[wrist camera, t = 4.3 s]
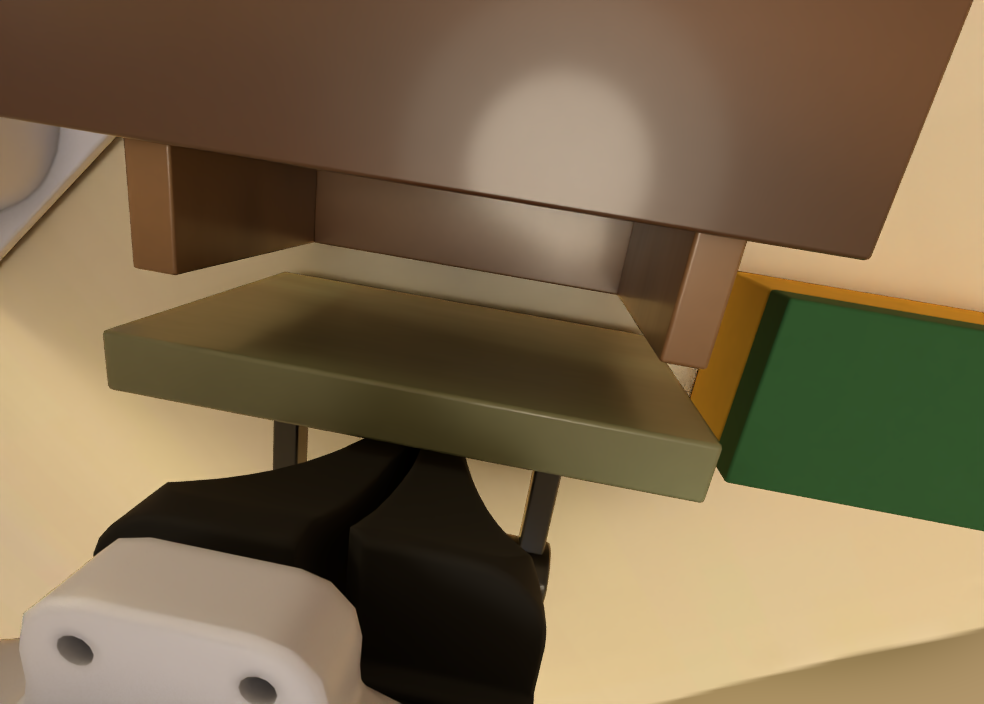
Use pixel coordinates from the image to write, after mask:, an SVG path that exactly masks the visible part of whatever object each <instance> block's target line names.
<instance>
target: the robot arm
mask: <svg viewBox="0 0 984 704" xmlns="http://www.w3.org/2000/svg"><path fill="white" fill-rule="evenodd" d="M115 137H116V136H111V135H105V134H99V133H93V132H87V131H81V130H75V129H69V128H63V127H57V126H51V125H45V124H39V123H33V122H27V121H21V120H15V119H9V118H3V117H0V261H1V259H2V258H3V257H4V256H5V255H6V254H7V253H8V252H9V251H10V250H11V249H12V248H13V247H14V246H15V244H16V243H17V242H18V241H19V240H20V239H21V238H22V237H23V236H24V235H25V234H26V233H27V232H28V231H29V229H30V228H31V227H32V226H33V225H34V224H35V223H36V222H37V221H38V220H39V219H40V218H41V217H42V216H43V215H44V213H45V212H46V211H47V210H48V209H49V208H50V207H51V206H52V205H53V204H54V203H55V202H56V201H57V200H58V198H59V197H60V196H61V195H62V194H63V193H64V192H65V191H66V190H67V189H68V188H69V187H70V186H71V185H72V183H73V182H74V181H75V180H76V179H77V178H78V177H79V176H80V175H81V174H82V173H83V172H84V171H85V170H86V168H87V167H88V166H89V165H90V164H91V163H92V162H93V161H94V160H95V159H96V158H97V157H98V156H99V155H100V153H101V152H102V151H103V150H104V149H105V148H106V147H107V146H108V145H109V144H110V143H111V142H112V141H113V140H114V138H115ZM545 641H546V620H545V611H544V604H543V599H542V593H541V589H540V585H539V580H538V577H537V573H536V569H535V566H534V562H533V559H532V557H531V556H530V554H528V553H527V552H526V551H525V550H524V549H523V548H521V547H520V546H519V545H518V544H517V543H516V542H515V541H513V540H512V539H511V538H510V537H509V536H508V535H507V534H506V533H505V532H504V531H503V530H502V529H501V528H500V526H499V525H498V524H497V523H496V521H495V520H494V518H493V517H492V516H491V514H490V513H489V511H488V510H487V508H486V507H485V505H484V503H483V501H482V500H481V498H480V496H479V494H478V492H477V489H476V487H475V485H474V482H473V480H472V477H471V474H470V471H469V468H468V465H467V461H466V457H460V456H455V455H450V454H445V453H440V452H434V451H429V450H424V449H419V448H414V447H409V446H403V445H398V444H393V443H388V442H383V441H377V440H372V439H367V438H364V439H362V440H360V441H358V442H356V443H353V444H351V445H349V446H347V447H345V448H343V449H340V450H338V451H335V452H333V453H330V454H327V455H325V456H322V457H319V458H316V459H313V460H310V461H306V462H303V463H299V464H295V465H291V466H287V467H283V468H279V469H275V470H271V471H266V472H261V473H255V474H250V475H243V476H236V477H229V478H221V479H210V480H196V481H183V482H167V483H166V484H165V485H163V486H162V487H160V488H159V489H158V490H156V491H155V492H154V493H153V494H151V495H150V496H149V497H147V498H146V499H145V500H143V501H142V502H141V503H139V504H138V505H137V506H135V507H134V508H133V509H132V510H130V511H129V512H128V513H126V514H125V515H124V516H122V517H121V518H120V519H118V520H117V521H116V522H114V523H113V524H112V525H111V526H110V527H109V528H108V529H107V530H106V531H105V532H104V533H103V534H102V535H101V537H100V538H99V540H98V543H97V545H96V548H95V551H94V555H93V558H92V559H90V560H89V561H88V562H87V563H85V564H84V565H83V566H82V567H80V568H79V569H78V570H77V571H75V572H74V573H73V574H72V575H70V576H69V577H68V578H67V579H66V580H64V581H63V582H62V583H61V584H59V585H58V586H57V587H56V588H54V589H53V590H52V591H51V592H49V593H48V594H47V595H46V596H44V597H43V598H42V599H41V600H39V601H38V602H37V603H36V604H34V605H33V606H32V607H31V608H29V609H28V610H27V611H26V612H24V613H23V618H22V626H21V634H20V638H15V639H3V640H0V704H533V701H534V690H535V686H536V682H537V678H538V674H539V669H540V665H541V661H542V657H543V653H544V648H545Z"/></svg>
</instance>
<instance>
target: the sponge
mask: <svg viewBox="0 0 984 704" xmlns="http://www.w3.org/2000/svg"><path fill="white" fill-rule="evenodd" d="M690 399H691V400H692V402H693V403H694V405H695V406H696V408H697V409H698V411H699V412H700V414H701V415H702V417H703V418H704V420H705V421H706V423H707V424H708V426H709V427H710V429H711V430H712V432H713V433H714V435H715V436H716V438H717V439H718V441H719V442H720V444H721V446H722V450H721V453H720V456H719V459H718V462H717V465H716V467H717V468H718V470H719V472H720V473H721V475H722V477H723V478H724V480H725V481H726V482H728V483H733V484H738V485H744V486H749V487H754V488H760V489H765V490H770V491H775V492H781V493H786V494H791V495H796V496H802V497H807V498H812V499H817V500H823V501H828V502H833V503H838V504H844V505H849V506H854V507H859V508H865V509H870V510H875V511H880V512H886V513H891V514H896V515H902V516H907V517H912V518H917V519H923V520H928V521H933V522H938V523H944V524H949V525H954V526H959V527H965V528H970V529H975V530H980V531H984V313H983V312H977V311H971V310H965V309H959V308H953V307H947V306H941V305H935V304H929V303H923V302H918V301H912V300H906V299H900V298H894V297H888V296H882V295H876V294H870V293H864V292H858V291H852V290H846V289H840V288H835V287H829V286H823V285H817V284H811V283H805V282H799V281H793V280H787V279H781V278H775V277H769V276H763V275H758V274H752V273H746V272H740V271H738V272H737V275H736V278H735V281H734V284H733V287H732V291H731V294H730V297H729V300H728V303H727V306H726V310H725V313H724V316H723V319H722V322H721V326H720V329H719V332H718V335H717V338H716V341H715V345H714V348H713V351H712V354H711V357H710V360H709V364H708V367H707V368H706V369H699V372H698V375H697V378H696V381H695V384H694V388H693V391H692V394H691V397H690Z"/></svg>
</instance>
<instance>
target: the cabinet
mask: <svg viewBox="0 0 984 704" xmlns="http://www.w3.org/2000/svg"><path fill="white" fill-rule="evenodd" d="M972 2H973V0H0V117H3V118H9V119H15V120H21V121H27V122H33V123H39V124H45V125H51V126H57V127H63V128H69V129H75V130H81V131H87V132H93V133H99V134H105V135H111V136H117V137H123V138H129V139H135V140H142V141H148V142H154V143H160V144H166V145H172V146H178V147H184V148H190V149H196V150H202V151H208V152H214V153H220V154H226V155H232V156H238V157H244V158H250V159H256V160H262V161H268V162H274V163H280V164H286V165H292V166H299V167H305V168H311V169H317V170H323V171H329V172H335V173H341V174H347V175H353V176H359V177H365V178H371V179H377V180H383V181H389V182H395V183H401V184H407V185H413V186H419V187H425V188H431V189H437V190H443V191H449V192H455V193H462V194H468V195H474V196H480V197H486V198H492V199H498V200H504V201H510V202H516V203H522V204H528V205H534V206H540V207H546V208H552V209H558V210H564V211H570V212H576V213H582V214H588V215H594V216H600V217H606V218H612V219H619V220H625V221H631V222H637V223H643V224H649V225H655V226H661V227H667V228H673V229H679V230H685V231H691V232H697V233H703V234H709V235H715V236H721V237H727V238H733V239H739V240H745V241H751V242H757V243H763V244H769V245H776V246H782V247H788V248H794V249H800V250H806V251H812V252H818V253H824V254H830V255H836V256H842V257H848V258H854V259H860V260H866V259H869V258H870V257H871V255H872V253H873V250H874V248H875V245H876V243H877V240H878V238H879V235H880V233H881V230H882V228H883V225H884V223H885V220H886V218H887V215H888V213H889V210H890V208H891V205H892V203H893V200H894V198H895V195H896V193H897V190H898V188H899V185H900V183H901V180H902V178H903V175H904V173H905V170H906V168H907V165H908V163H909V160H910V158H911V155H912V153H913V150H914V148H915V145H916V143H917V140H918V138H919V135H920V133H921V130H922V128H923V125H924V123H925V120H926V118H927V115H928V113H929V110H930V108H931V105H932V103H933V100H934V98H935V95H936V92H937V90H938V87H939V85H940V82H941V80H942V77H943V75H944V72H945V70H946V67H947V65H948V62H949V60H950V57H951V55H952V52H953V50H954V47H955V45H956V42H957V40H958V37H959V35H960V32H961V30H962V27H963V25H964V22H965V20H966V17H967V15H968V12H969V10H970V7H971V5H972Z"/></svg>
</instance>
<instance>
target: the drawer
mask: <svg viewBox="0 0 984 704" xmlns="http://www.w3.org/2000/svg"><path fill="white" fill-rule="evenodd" d="M124 148H125V161H126V173H127V186H128V199H129V211H130V224H131V237H132V249H133V262H134V267H135V268H138V269H144V270H149V271H155V272H161V273H166V274H172V275H178V274H182V273H186V272H190V271H195V270H199V269H203V268H207V267H211V266H216V265H220V264H224V263H228V262H232V261H237V260H241V259H245V258H249V257H253V256H258V255H262V254H266V253H270V252H274V251H279V250H283V249H287V248H291V247H295V246H300V245H304V244H308V243H312V242H315V243H321V244H327V245H333V246H338V247H344V248H350V249H356V250H362V251H367V252H373V253H379V254H385V255H390V256H396V257H402V258H408V259H414V260H419V261H425V262H431V263H437V264H442V265H448V266H454V267H460V268H465V269H471V270H477V271H483V272H489V273H494V274H500V275H506V276H512V277H517V278H523V279H529V280H535V281H540V282H546V283H552V284H558V285H564V286H569V287H575V288H581V289H587V290H592V291H598V292H604V293H610V294H616V295H618V296H619V298H620V299H621V301H622V302H623V304H624V305H625V307H626V309H627V310H628V312H629V313H630V315H631V316H632V318H633V319H634V321H635V323H636V324H637V326H638V327H639V329H640V330H641V332H642V334H643V335H640V334H634V333H628V332H623V331H617V330H611V329H606V328H600V327H594V326H589V325H583V324H577V323H572V322H566V321H560V320H555V319H549V318H543V317H538V316H532V315H526V314H521V313H515V312H510V311H504V310H498V309H493V308H487V307H481V306H476V305H470V304H464V303H459V302H453V301H447V300H442V299H436V298H430V297H425V296H419V295H413V294H408V293H402V292H396V291H391V290H385V289H379V288H374V287H368V286H363V285H357V284H351V283H346V282H340V281H334V280H329V279H323V278H317V277H312V276H306V275H300V274H295V273H289V272H283V273H280V274H277V275H274V276H271V277H268V278H265V279H262V280H258V281H255V282H252V283H249V284H246V285H243V286H240V287H237V288H234V289H231V290H228V291H225V292H221V293H218V294H215V295H212V296H209V297H206V298H203V299H200V300H197V301H194V302H191V303H188V304H185V305H181V306H178V307H175V308H172V309H169V310H166V311H163V312H160V313H157V314H154V315H151V316H148V317H145V318H141V319H138V320H135V321H132V322H129V323H126V324H123V325H120V326H117V327H114V328H111V329H108V330H105V331H104V333H103V340H104V350H105V359H106V369H107V379H108V386H109V388H111V389H113V390H118V391H123V392H128V393H133V394H139V395H144V396H149V397H154V398H159V399H165V400H170V401H175V402H180V403H185V404H191V405H196V406H201V407H206V408H211V409H217V410H222V411H227V412H232V413H237V414H242V415H248V416H253V417H258V418H263V419H268V420H274V444H273V470H275V469H279V468H283V467H287V466H291V465H295V464H299V463H303V462H306V461H307V442H308V427H310V428H315V429H320V430H325V431H331V432H336V433H341V434H346V435H351V436H357V437H362V438H367V439H372V440H377V441H383V442H388V443H393V444H398V445H403V446H409V447H414V448H419V449H424V450H429V451H434V452H440V453H445V454H450V455H455V456H460V457H466V458H471V459H476V460H481V461H486V462H492V463H497V464H502V465H507V466H512V467H518V468H523V469H528V470H533V472H532V476H531V481H530V486H529V491H528V496H527V500H526V505H525V510H524V515H523V520H522V524H521V529H520V534H519V536H516V535H511V534H507V535H508V536H509V537H510V538H511V539H512V540H513V541H515V542H516V543H517V544H518V545H519V546H520V547H521V548H523V549H524V550H525V551H526V552H527V553H528V554H530V556H531V557H532V559H533V562H534V566H535V569H536V573H537V577H538V580H539V585H540V589H541V593H542V599H543V602H544V599H545V595H546V590H547V585H548V578H549V571H550V559H551V549H550V544H549V543H548V542H546V539H547V535H548V531H549V526H550V522H551V518H552V513H553V509H554V505H555V500H556V496H557V492H558V487H559V483H560V479H561V476H564V477H569V478H575V479H580V480H585V481H590V482H595V483H601V484H606V485H611V486H616V487H621V488H626V489H632V490H637V491H642V492H647V493H652V494H658V495H663V496H668V497H673V498H678V499H684V500H689V501H694V502H699V503H700V502H703V501H704V499H705V497H706V494H707V491H708V488H709V485H710V482H711V479H712V476H713V473H714V471H715V468H716V465H717V462H718V459H719V456H720V453H721V450H722V446H721V444H720V442H719V441H718V439H717V438H716V436H715V435H714V433H713V432H712V430H711V429H710V427H709V426H708V424H707V423H706V421H705V420H704V418H703V417H702V415H701V414H700V412H699V411H698V409H697V408H696V406H695V405H694V403H693V402H692V400H691V399H690V397H689V396H688V394H687V393H686V391H685V390H684V388H683V387H682V386H681V384H680V383H679V381H678V380H677V378H676V377H675V375H674V374H673V372H672V371H671V369H670V368H669V366H668V365H667V363H670V364H675V365H681V366H687V367H692V368H698V369H706V368H707V367H708V364H709V360H710V357H711V354H712V351H713V348H714V345H715V341H716V338H717V335H718V332H719V329H720V326H721V322H722V319H723V316H724V313H725V310H726V306H727V303H728V300H729V297H730V294H731V291H732V287H733V284H734V281H735V278H736V275H737V272H738V268H739V265H740V262H741V259H742V256H743V253H744V249H745V246H746V243H747V241H745V240H739V239H733V238H727V237H721V236H715V235H709V234H703V233H697V232H691V231H685V230H679V229H673V228H667V227H661V226H655V225H649V224H643V223H637V222H631V221H625V220H619V219H612V218H606V217H600V216H594V215H588V214H582V213H576V212H570V211H564V210H558V209H552V208H546V207H540V206H534V205H528V204H522V203H516V202H510V201H504V200H498V199H492V198H486V197H480V196H474V195H468V194H462V193H455V192H449V191H443V190H437V189H431V188H425V187H419V186H413V185H407V184H401V183H395V182H389V181H383V180H377V179H371V178H365V177H359V176H353V175H347V174H341V173H335V172H329V171H323V170H317V169H311V168H305V167H299V166H292V165H286V164H280V163H274V162H268V161H262V160H256V159H250V158H244V157H238V156H232V155H226V154H220V153H214V152H208V151H202V150H196V149H190V148H184V147H178V146H172V145H166V144H160V143H154V142H148V141H142V140H135V139H129V138H124Z"/></svg>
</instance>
